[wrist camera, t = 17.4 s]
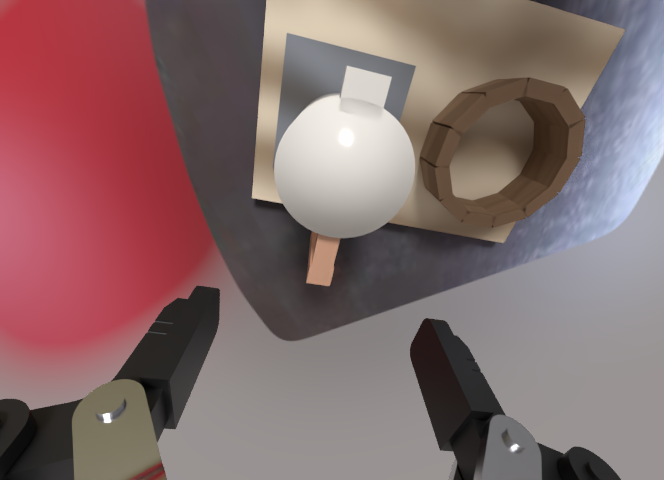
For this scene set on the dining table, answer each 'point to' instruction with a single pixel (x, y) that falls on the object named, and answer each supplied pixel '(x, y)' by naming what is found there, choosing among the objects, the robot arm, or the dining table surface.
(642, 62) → the dining table surface
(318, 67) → the serving board
